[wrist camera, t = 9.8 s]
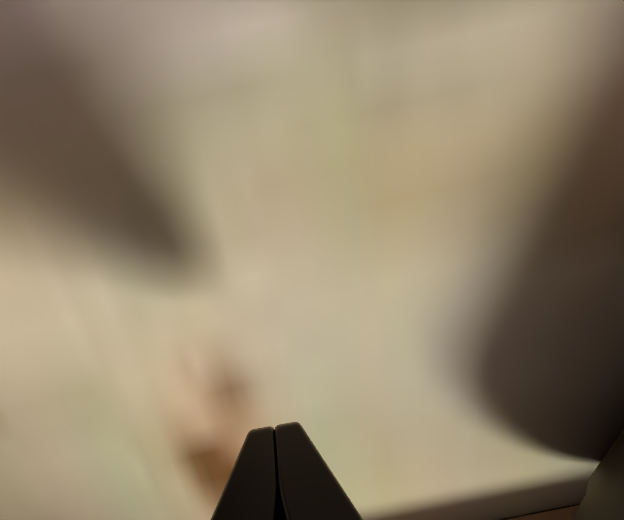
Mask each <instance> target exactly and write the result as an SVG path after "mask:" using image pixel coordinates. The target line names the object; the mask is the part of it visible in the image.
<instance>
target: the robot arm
mask: <svg viewBox="0 0 624 520" xmlns="http://www.w3.org/2000/svg"><path fill="white" fill-rule="evenodd" d="M211 520H363V519H362V517H361V516H360V514H359V513H358V511H357V510H356V508H355V507H354V505H353V504H352V502H351V501H350V499H349V498H348V496H347V495H346V493H345V492H344V490H343V488H342V487H341V485H340V484H339V482H338V481H337V479H336V478H335V476H334V475H333V473H332V472H331V470H330V469H329V467H328V466H327V464H326V463H325V461H324V460H323V458H322V456H321V455H320V453H319V452H318V450H317V449H316V447H315V446H314V444H313V443H312V441H311V440H310V438H309V437H308V435H307V434H306V432H305V431H304V429H303V427H302V426H301V425H300V424H299V423H298V422H292V423H286V424H281V425H277V426H276V427H275V430H274V428H273V427H264V428H258V429H253V430H251V431H250V432H249V433H248V435H247V437H246V439H245V441H244V444H243V446H242V448H241V451H240V453H239V455H238V458H237V460H236V462H235V465H234V467H233V469H232V472H231V474H230V476H229V478H228V481H227V483H226V485H225V488H224V490H223V492H222V495H221V497H220V499H219V502H218V504H217V506H216V509H215V511H214V513H213V516H212V518H211Z"/></svg>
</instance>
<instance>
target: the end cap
mask: <svg viewBox="0 0 624 520" xmlns="http://www.w3.org/2000/svg"><path fill="white" fill-rule="evenodd" d="M574 520H624V429H623V430H622V432H621V433H620V435H619V436H618V438H617V439H616V440H615V442H614V443H613V445H612V446H611V448H610V449H609V451H608V452H607V453H606V455H605V456H604V458H603V459H602V461H601V462H600V463H599V465H598V466H597V468H596V470H595V471H594V473H593V474H592V476H591V478H590V479H589V481H588V482H587V489H586V495H585V497H584V498H583V499H582V501H581V503H580V505H579V507H578V509H577V511H576V513H575V516H574Z"/></svg>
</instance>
